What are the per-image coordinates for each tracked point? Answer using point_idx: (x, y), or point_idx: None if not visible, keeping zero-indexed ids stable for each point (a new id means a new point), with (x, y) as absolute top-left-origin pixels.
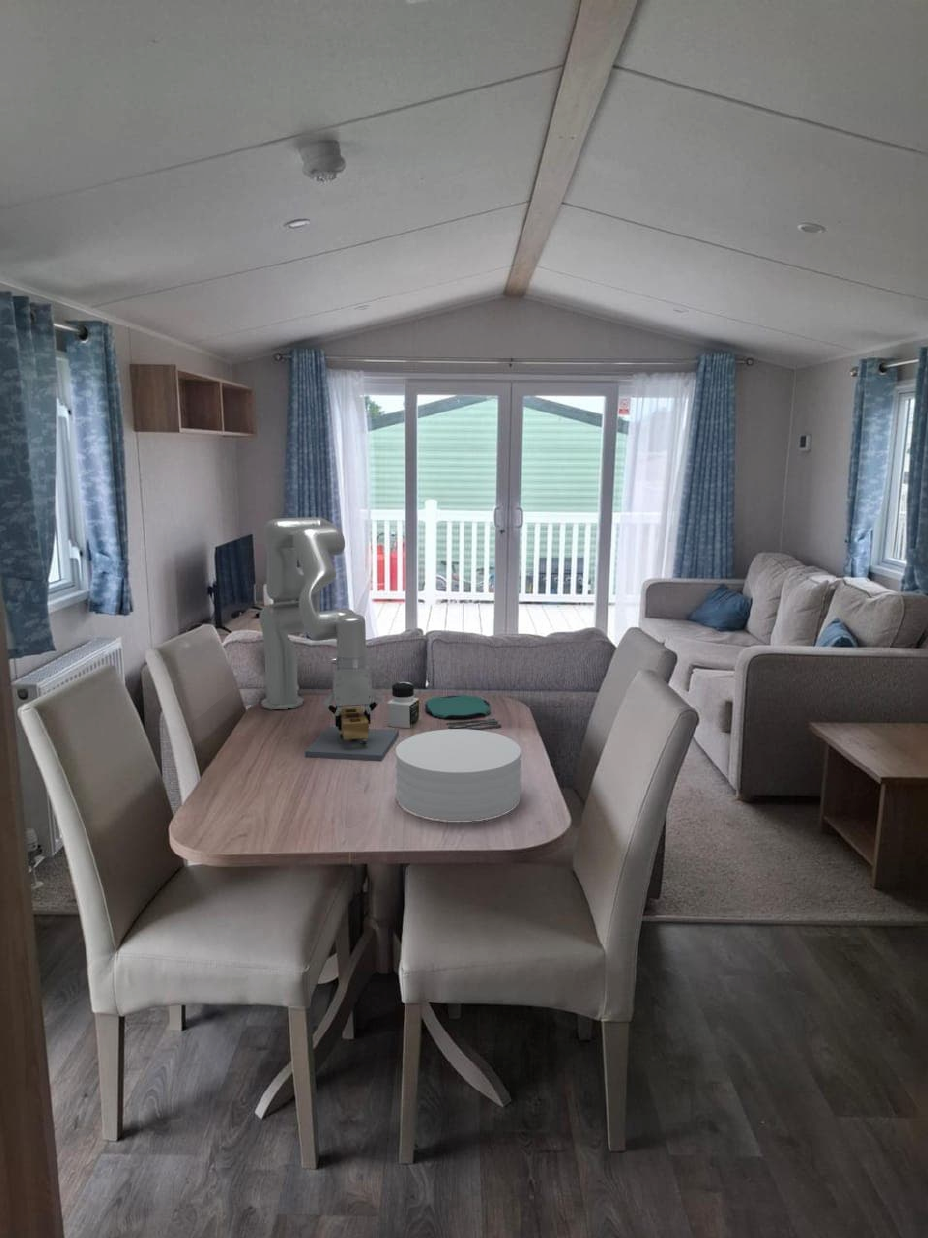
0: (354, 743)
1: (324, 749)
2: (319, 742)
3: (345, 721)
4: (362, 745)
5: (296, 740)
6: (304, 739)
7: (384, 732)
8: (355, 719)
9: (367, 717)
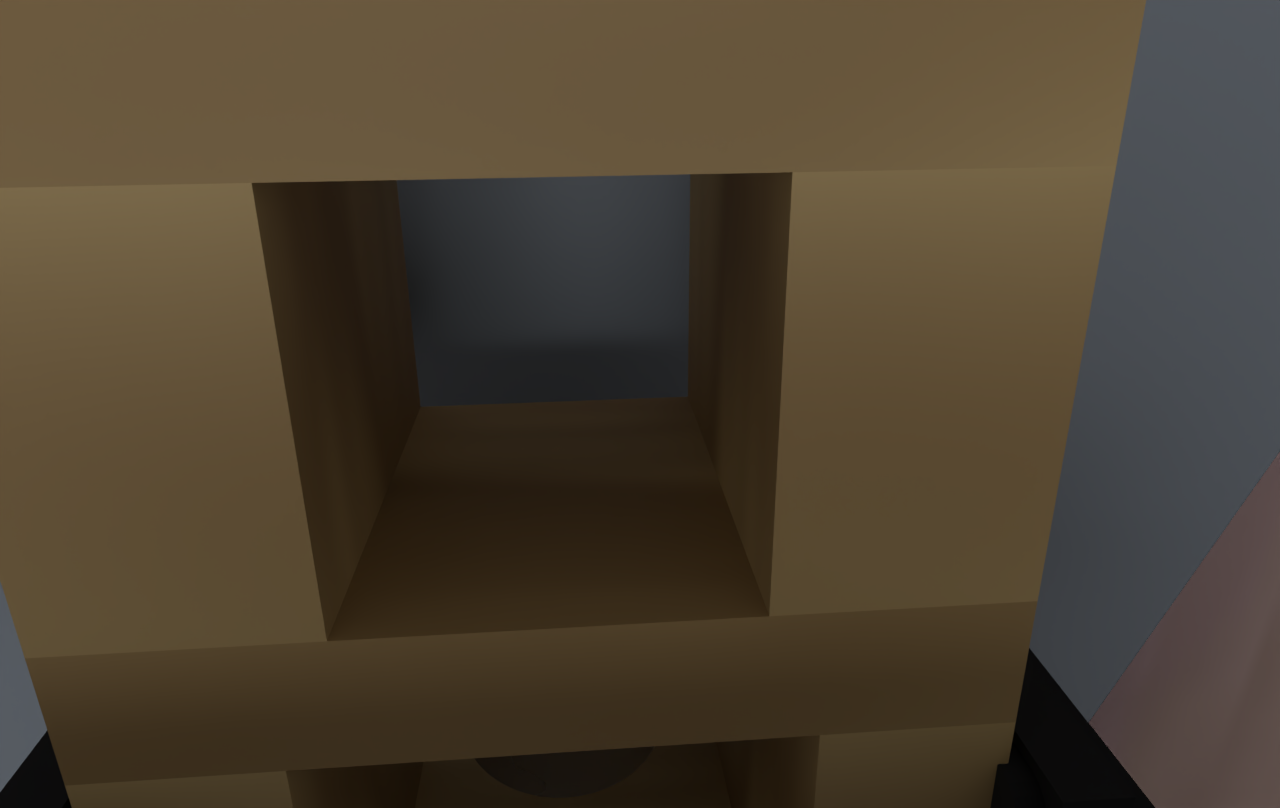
0: (560, 341)
1: (1168, 119)
2: (1140, 502)
3: (965, 338)
4: (408, 190)
5: (1276, 782)
6: (1174, 801)
7: (1, 781)
8: (501, 609)
9: (37, 785)
